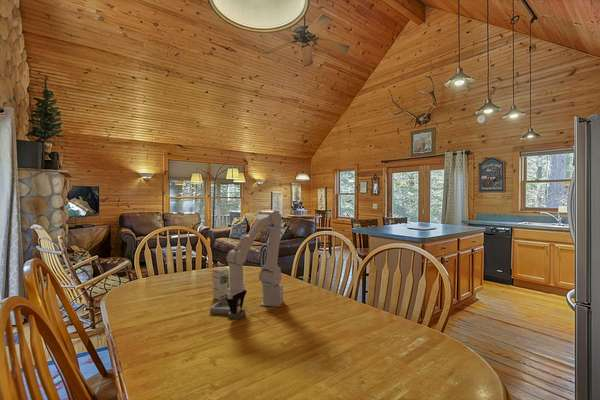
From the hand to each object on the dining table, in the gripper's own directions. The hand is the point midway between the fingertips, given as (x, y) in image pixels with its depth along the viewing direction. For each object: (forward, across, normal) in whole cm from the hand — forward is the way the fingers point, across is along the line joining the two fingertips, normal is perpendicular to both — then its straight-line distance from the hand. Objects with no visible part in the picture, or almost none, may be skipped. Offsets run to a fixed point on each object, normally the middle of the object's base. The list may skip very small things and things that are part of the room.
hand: (236, 310), depth 130 cm
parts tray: (+2, -5, -8) cm, 10 cm away
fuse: (+2, 0, 0) cm, 2 cm away
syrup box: (+3, -21, -17) cm, 27 cm away
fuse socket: (+2, 0, 0) cm, 2 cm away
